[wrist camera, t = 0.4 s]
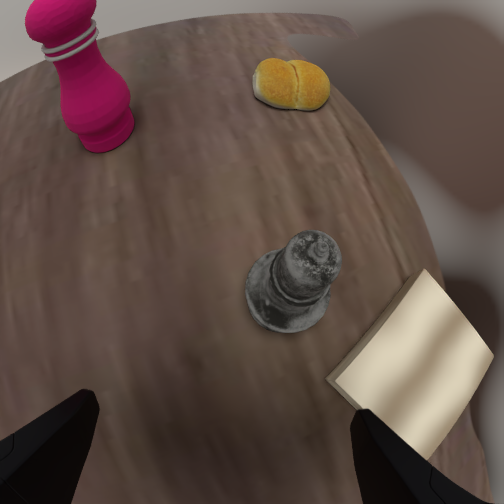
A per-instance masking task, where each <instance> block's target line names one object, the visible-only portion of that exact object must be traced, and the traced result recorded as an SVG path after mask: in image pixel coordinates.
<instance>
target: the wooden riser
mask: <svg viewBox="0 0 504 504" xmlns="http://www.w3.org/2000/svg"><path fill="white" fill-rule="evenodd" d="M493 357H494V355H493V354H492V352H491V351H490V350H489V348H488V347H487V345H486V344H485V343H484V341H483V340H482V339H481V337H480V336H479V335H478V333H477V332H476V331H475V329H474V328H473V327H472V325H471V324H470V323H469V322H468V320H467V319H466V318H465V317H464V315H463V314H462V312H461V311H460V310H459V309H458V307H457V306H456V305H455V304H454V303H453V301H452V300H451V299H450V298H449V296H448V295H447V294H446V293H445V292H444V290H443V289H442V288H441V287H440V286H439V285H438V283H437V282H436V281H435V280H434V279H433V278H432V277H431V275H430V274H429V273H428V272H427V271H426V270H425V269H422V270H421V271H419V272H417V273H415V274H413V275H411V276H410V277H409V278H408V280H407V281H406V282H405V284H404V285H403V286H402V288H401V289H400V290H399V292H398V293H397V294H396V296H395V297H394V298H393V300H392V301H391V302H390V304H389V305H388V306H387V307H386V309H385V310H384V311H383V313H382V314H381V315H380V316H379V318H378V319H377V320H376V321H375V323H374V324H373V325H372V326H371V327H370V329H369V330H368V331H367V332H366V333H365V335H364V336H363V337H362V338H361V339H360V340H359V342H358V343H357V344H356V345H355V346H354V347H353V349H352V350H351V351H350V352H349V353H348V354H347V355H346V356H345V358H344V359H343V360H342V361H341V362H340V363H339V364H338V365H337V366H336V367H335V368H334V369H333V371H332V372H331V373H330V374H329V375H328V376H327V377H326V378H325V380H326V381H327V382H328V383H329V384H330V385H332V386H333V387H334V388H335V389H336V390H337V391H338V392H339V393H340V394H341V395H342V396H343V397H344V398H345V399H346V400H347V401H348V402H349V403H350V404H351V405H352V406H353V407H354V408H355V409H357V410H358V409H365V408H368V409H370V410H371V411H372V412H373V413H374V414H376V415H377V416H378V417H379V418H380V419H381V420H382V421H383V422H384V423H385V424H386V425H388V426H389V427H390V428H391V429H392V430H393V431H394V432H395V433H396V434H398V435H399V436H400V437H401V438H402V439H403V440H404V441H405V442H406V443H408V444H409V445H410V446H411V447H412V448H413V449H414V450H415V451H417V452H418V453H419V454H420V455H421V456H422V457H423V458H425V459H426V460H428V458H429V457H430V456H431V455H432V453H433V452H434V451H435V450H436V448H437V447H438V446H439V444H440V443H441V442H442V440H443V439H444V438H445V436H446V435H447V434H448V432H449V431H450V429H451V428H452V426H453V425H454V424H455V422H456V421H457V419H458V418H459V416H460V415H461V413H462V412H463V410H464V408H465V407H466V405H467V404H468V402H469V400H470V399H471V397H472V395H473V394H474V392H475V390H476V389H477V387H478V385H479V383H480V381H481V380H482V378H483V376H484V374H485V372H486V371H487V368H488V367H489V365H490V363H491V361H492V359H493Z"/></svg>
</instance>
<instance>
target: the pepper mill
mask: <svg viewBox="0 0 504 504" xmlns="http://www.w3.org/2000/svg"><path fill="white" fill-rule="evenodd" d="M95 8H96V0H34V1H33V3H32V4H31V5H30V7H29V9H28V11H27V14H26V17H25V26H26V31H27V33H28V35H29V37H30V38H31V39H32V40H34V41H37V42H40V43H43V45H42V52H43V53H45V59H46V60H47V61H51V62H53V64H54V65H55V67H56V69H57V72H58V75H59V79H60V85H61V111H62V116H63V119H64V121H65V123H66V126H67V127H68V128H69V129H70V130H71V131H72V132H74V133H77V134H78V136H79V138H80V140H81V142H82V144H83V145H84V147H85V148H86V149H87V150H89V151H91V152H95V153H100V152H106V151H109V150H112V149H114V148H116V147H118V146H119V145H121V144H122V143H123V142H124V141H125V140H126V139H127V138H128V137H129V136H130V134H131V132H132V131H133V128H134V118H133V115H132V113H131V110H130V108H129V104H130V91H129V89H128V86H127V84H126V82H125V81H124V79H123V78H122V77H121V75H119V74H118V73H117V72H116V71H115V70H114V69H112V68H111V67H110V66H109V65H108V64H107V63H106V62H105V60H104V59H103V57H102V56H101V53H100V51H99V49H98V47H97V43H96V38H97V36H98V33H99V32H98V29H97V28H96V21H95V20H93V19H91V17H92V15H93V14H94V11H95Z"/></svg>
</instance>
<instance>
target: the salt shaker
mask: <svg viewBox="0 0 504 504" xmlns="http://www.w3.org/2000/svg"><path fill="white" fill-rule="evenodd" d="M341 263H342V258H341V252H340V249H339V247H338V245H337V244H336V242H335V241H334V240H333V239H332V238H331V237H330V236H329V235H327V234H325V233H324V232H321V231H318V230H306V231H302V232H300V233H298V234H297V235H295V236H294V237H293V238H292V239H291V240H290V241H289V243H288V244H287V246H286V247H284V248H282V249H278V250H273V251H271V252H269V253H267V254H265V255H263V256H262V257H261V258H259V259H258V260H257V261H256V262H255V263H254V265H253V266H252V268H251V269H250V271H249V273H248V277H247V280H246V286H245V295H246V299H247V303H248V307H249V311H250V313H251V315H252V317H253V318H254V320H255V321H256V322H257V323H258V324H259V325H260V326H262V327H264V328H265V329H267V330H270V331H273V332H282V333H295V332H299V331H303V330H306V329H308V328H309V327H311V326H313V325H314V324H316V323H317V322H318V321H319V319H320V318H321V317H322V316H323V315H324V313H325V311H326V309H327V307H328V304H329V300H330V284H331V283H332V282H333V281H334V280H335V279H336V278H337V276H338V274H339V272H340V269H341Z"/></svg>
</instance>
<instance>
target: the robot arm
mask: <svg viewBox="0 0 504 504" xmlns="http://www.w3.org/2000/svg"><path fill="white" fill-rule="evenodd" d="M99 410H100V408H99V404H98V401H97V399H96V396H95V394H94V392H93V391H92V390H88V389H81V390H79V391H78V392H76V393H75V394H73V395H72V396H70V397H69V398H67V399H66V400H64V401H63V402H61V403H60V404H58V405H56V406H55V407H53V408H52V409H50V410H49V411H47V412H46V413H44V414H42V415H41V416H39V417H38V418H36V419H35V420H33V421H32V422H30V423H28V424H27V425H25V426H24V427H22V428H21V429H19V430H17V431H16V432H15V434H14V433H13V434H11V435H9V436H8V437H6V438H4V439H3V440H1V441H0V504H71V502H72V499H73V496H74V493H75V490H76V487H77V484H78V481H79V478H80V475H81V472H82V469H83V466H84V463H85V461H86V458H87V455H88V452H89V449H90V447H91V443H92V439H93V435H94V431H95V427H96V423H97V419H98V415H99ZM350 432H351V441H352V449H353V458H354V466H355V471H356V475H357V479H358V483H359V488H360V492H361V497H362V501H363V504H493V503H488V502H485V501H482V500H481V499H479V498H477V497H476V496H474V495H472V494H471V493H469V492H468V491H466V490H464V489H463V488H461V487H460V486H458V485H457V484H455V483H454V482H453V481H451V480H450V479H448V478H447V477H446V476H445V475H443V474H442V473H441V472H440V471H438V470H437V469H436V468H435V467H434V466H432V465H431V464H430V463H429V462H428V461H427V460H426V459H425V458H423V457H422V456H421V455H420V454H419V453H418V452H417V451H415V450H414V449H413V448H412V447H411V446H410V445H409V444H408V443H406V442H405V441H404V440H403V439H402V438H401V437H400V436H399V435H398V434H396V433H395V432H394V431H393V430H392V429H391V428H390V427H389V426H388V425H386V424H385V423H384V422H383V421H382V420H381V419H380V418H379V417H378V416H377V415H376V414H374V413H373V412H372V411H371V410H370V409H368V408H365V409H358V410H357V411H356V413H355V415H354V417H353V420H352V422H351V425H350Z"/></svg>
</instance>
